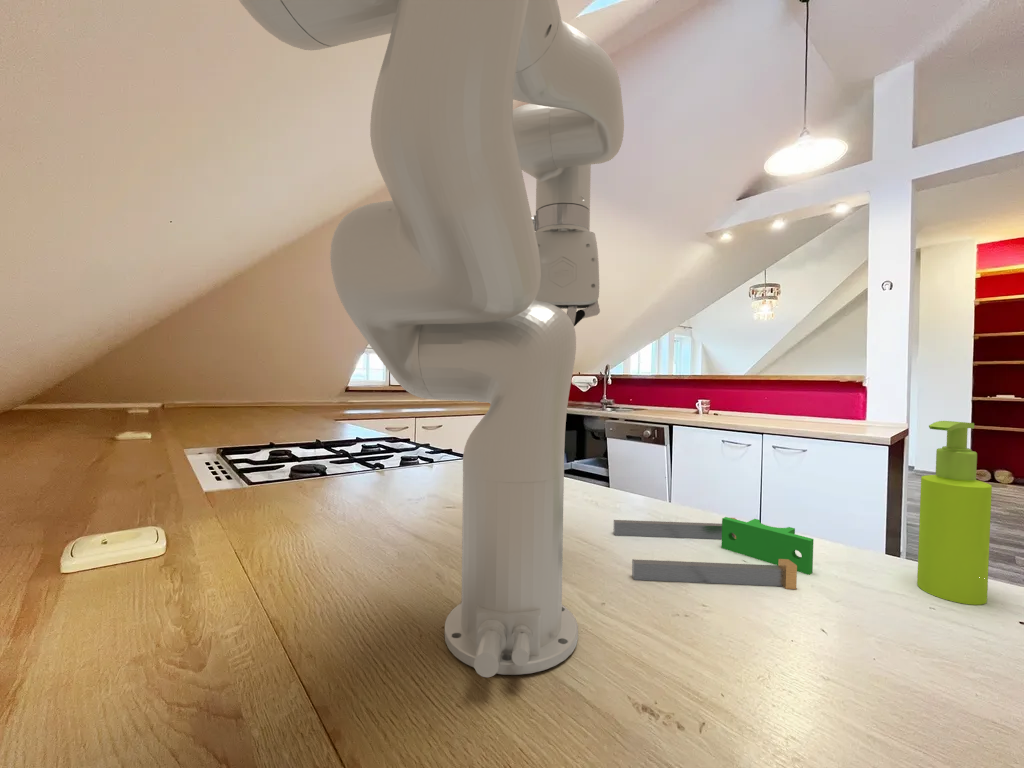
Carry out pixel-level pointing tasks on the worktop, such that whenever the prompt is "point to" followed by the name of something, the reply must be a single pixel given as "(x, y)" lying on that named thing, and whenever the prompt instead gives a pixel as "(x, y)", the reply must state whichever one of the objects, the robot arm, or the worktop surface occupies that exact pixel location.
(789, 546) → the green block
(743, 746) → the worktop surface
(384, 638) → the worktop surface
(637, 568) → the chute
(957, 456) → the soap dispenser
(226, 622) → the worktop surface
